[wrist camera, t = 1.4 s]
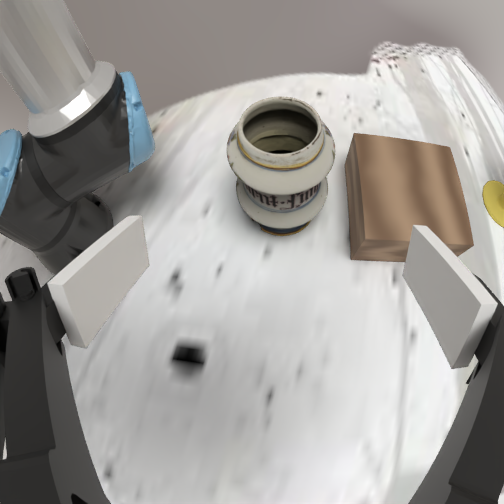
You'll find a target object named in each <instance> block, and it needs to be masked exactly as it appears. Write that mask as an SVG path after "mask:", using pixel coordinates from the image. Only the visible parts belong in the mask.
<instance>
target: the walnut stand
mask: <svg viewBox="0 0 504 504" xmlns="http://www.w3.org/2000/svg"><path fill="white" fill-rule="evenodd" d="M345 173H346V184H347V196H348V210H349V227H350V250H351V260H366V261H392V262H406V258H407V253H408V248H409V243H410V238H411V233H412V228H413V225H422V226H427V227H428V228H429V229H430V230H431V231H432V232H433V233H434V234H435V235H436V236H437V237H438V238H439V239H440V240H441V241H442V242H443V243H444V244H445V245H446V246H447V247H448V248H449V249H450V250H451V251H452V252H453V253H454V254H455V255H456V256H457V257H458V256H459V255H461V254H462V253H464V252H465V251H466V250H468V249H469V248H471V247H472V246H474V244H473V238H472V232H471V227H470V222H469V217H468V212H467V207H466V203H465V199H464V195H463V191H462V187H461V183H460V179H459V176H458V172H457V168H456V165H455V162H454V158H453V155H452V152H451V149H450V147H447V146H441V145H436V144H431V143H425V142H419V141H413V140H406V139H399V138H392V137H385V136H377V135H368V134H358V133H354V134H353V138H352V141H351V145H350V148H349V152H348V155H347V159H346V162H345Z"/></svg>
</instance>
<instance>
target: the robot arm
mask: <svg viewBox="0 0 504 504" xmlns="http://www.w3.org/2000/svg"><path fill="white" fill-rule="evenodd" d="M0 72H1V74H2V75H3V76H4V78H5V79H6V80H7V82H8V83H9V84H10V86H11V87H12V88H13V90H14V91H15V92H16V94H17V95H18V96H19V98H20V99H21V100H22V101H23V103H24V104H25V105H26V106H27V108H28V109H29V110H30V113H29V119H28V130H29V132H28V133H27V134H25V135H24V136H22V134H21V133H20V131H16V130H14V129H10V130H6V131H4V132H3V133H1V134H0V233H1V234H3V235H4V236H6V237H8V238H10V239H12V240H14V241H15V242H17V243H19V244H21V245H23V246H25V247H27V248H28V249H30V250H32V251H33V252H34V253H35V254H36V256H37V257H38V258H39V260H40V261H41V262H42V263H43V265H44V266H45V267H46V268H47V269H48V270H49V271H50V272H51V273H53V274H55V276H54V277H53V278H51V279H50V280H49V281H48V282H47V283H46V284H45V285H44V286H43V287H42V288H40V285H39V282H38V279H37V276H36V273H35V270H34V268H32V267H26V268H21V269H18V270H16V271H14V272H12V273H11V274H10V275H9V276H7V278H6V279H5V283H6V285H7V288H8V291H9V293H10V296H11V298H12V301H9V302H4V300H3V298H2V295H1V293H0V504H111V503H110V501H109V500H108V499H107V497H106V495H105V494H104V491H103V489H102V487H101V484H100V482H99V479H98V476H97V474H96V471H95V468H94V465H93V462H92V460H91V457H90V454H89V450H88V447H87V444H86V441H85V438H84V434H83V431H82V427H81V424H80V420H79V416H78V412H77V408H76V404H75V400H74V395H73V391H72V386H71V381H70V376H69V371H68V366H67V360H66V354H65V347H64V345H63V342H62V340H61V338H62V337H63V336H64V335H65V333H66V334H67V336H68V339H69V341H70V343H71V345H73V346H77V347H81V348H87V347H88V346H89V344H90V343H91V341H92V340H93V339H94V337H95V336H96V334H97V333H98V332H99V330H100V329H101V328H102V326H103V325H104V324H105V322H106V321H107V319H108V318H109V317H110V315H111V314H112V313H113V311H114V310H115V309H116V307H117V306H118V305H119V304H120V302H121V301H122V300H123V298H124V297H125V296H126V294H127V293H128V292H129V291H130V289H131V288H132V287H133V285H134V284H135V283H136V282H137V280H138V279H139V278H140V277H141V275H142V274H143V273H144V271H145V270H146V269H147V268H148V267H149V265H150V264H149V259H148V253H147V247H146V240H145V234H144V227H143V220H142V216H128V217H126V218H125V219H124V220H122V221H121V222H120V223H118V224H117V225H116V226H115V227H113V219H112V215H111V212H110V210H109V208H108V206H107V205H106V204H105V203H104V202H103V201H102V200H101V199H100V198H99V197H97V196H96V195H94V194H92V193H91V192H93V191H94V190H96V189H98V188H100V187H101V186H103V185H105V184H107V183H109V182H110V181H112V180H114V179H116V178H118V177H120V176H121V175H123V174H125V173H127V172H128V173H129V172H130V171H132V169H133V168H134V167H136V166H138V165H139V164H141V163H143V162H144V161H146V160H148V159H149V158H150V157H151V156H152V154H153V153H154V150H155V143H154V138H153V135H152V131H151V128H150V125H149V122H148V119H147V116H146V113H145V110H144V107H143V105H142V101H141V98H140V94H139V91H138V88H137V85H136V82H135V79H134V77H133V74H132V73H131V72H122V73H119V75H118V73H117V72H116V70H115V68H114V66H113V65H112V64H111V63H108V62H103V61H95V60H94V58H93V56H92V54H91V53H90V51H89V49H88V47H87V45H86V43H85V41H84V39H83V37H82V36H81V34H80V32H79V30H78V28H77V26H76V24H75V22H74V20H73V18H72V16H71V14H70V12H69V10H68V8H67V6H66V4H65V2H64V0H0ZM402 276H403V277H404V279H405V281H406V282H407V284H408V286H409V288H410V289H411V291H412V293H413V295H414V296H415V298H416V300H417V302H418V304H419V305H420V307H421V309H422V311H423V313H424V315H425V316H426V318H427V320H428V322H429V324H430V326H431V328H432V330H433V332H434V334H435V336H436V338H437V340H438V342H439V344H440V346H441V348H442V350H443V352H444V354H445V356H446V358H447V360H448V362H449V364H450V367H451V369H455V368H462V367H468V365H469V363H470V362H471V360H472V358H473V356H474V354H475V355H476V357H477V359H478V363H477V365H476V367H475V368H474V370H473V372H472V374H471V375H470V377H469V379H468V380H467V382H466V384H469V385H468V388H467V391H466V393H465V396H464V398H463V401H462V403H461V406H460V408H459V411H458V413H457V415H456V418H455V420H454V422H453V424H452V427H451V429H450V431H449V433H448V435H447V437H446V439H445V441H444V443H443V445H442V447H441V449H440V451H439V453H438V455H437V457H436V459H435V461H434V462H433V464H432V466H431V468H430V470H429V471H428V473H427V475H426V476H425V478H424V480H423V481H422V483H421V485H420V486H419V488H418V490H417V491H416V493H415V494H414V496H413V497H412V499H411V500H410V502H409V503H408V504H498V499H499V495H500V493H501V490H502V487H503V485H504V306H503V305H502V303H501V302H500V301H499V300H498V298H497V297H496V296H495V295H494V294H493V293H492V291H491V290H490V289H489V288H488V287H487V285H486V284H485V283H484V282H483V281H482V280H481V279H480V278H479V277H477V276H476V275H474V274H473V273H471V272H470V270H469V269H468V268H467V267H466V266H465V265H464V264H463V263H462V262H461V261H460V259H459V258H458V257H457V256H456V255H455V254H454V253H453V252H452V251H451V250H450V249H449V248H448V247H447V246H446V245H445V244H444V243H443V242H442V241H441V240H440V239H439V238H438V237H437V236H436V235H435V234H434V233H433V232H432V231H431V230H430V229H429V228H428V227H427V226H422V225H413V228H412V233H411V238H410V243H409V248H408V253H407V258H406V262H405V267H404V271H403V275H402ZM469 382H470V383H469ZM5 437H6V449H7V458H6V459H4V460H2V459H3V450H4V442H5Z"/></svg>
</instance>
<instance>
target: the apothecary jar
mask: <svg viewBox="0 0 504 504" xmlns="http://www.w3.org/2000/svg"><path fill="white" fill-rule="evenodd" d="M227 157H228V161H229V164H230V166H231V168H232V170H233V172H234V173H235V175H236V176H237V183H236V191H237V197H238V200H239V203H240V205H241V207H242V208H243V210H244V211H245V212H246V213H247V214H248V215H249V216H250V217H251V219H252V220H253V221H255V222H257V223H259V224H260V226H261V230H263V231H265V232H267V233H269V234H272V235H277V236H286V235H292V234H295V233H297V232H299V231H301V230H302V229H304V228H305V227H306V226H307V225H308V224H309V223H310V221H311V219H313V218H314V217H315V216H316V215H317V214H318V213H319V212H320V210H321V209H322V207H323V206H324V203H325V201H326V198H327V194H328V183H327V178H326V176H327V174H328V173H329V171H330V170H331V168H332V166H333V163H334V159H335V144H334V140H333V137H332V135H331V133H330V131H329V129H328V128H327V126H326V125H325V124H324V123H323V122H322V121H321V119H320V117H319V115H318V113H317V112H316V111H315V110H314V109H313V108H312V107H311V106H310V105H308V104H307V103H305V102H303V101H301V100H298V99H295V98H291V97H271V98H267V99H263V100H260V101H258V102H256V103H254V104H252V105H251V106H250V107H249V108H247V109H246V111H245V112H244V113H243V114H242V116H241V118H240V121H239V122H238V123H237V124H236V126H235V127H234V129H233V130H232V132H231V134H230V136H229V139H228V143H227Z"/></svg>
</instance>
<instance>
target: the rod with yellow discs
mask: <svg viewBox="0 0 504 504" xmlns="http://www.w3.org/2000/svg"><path fill="white" fill-rule="evenodd" d="M482 195H483V200H484V204H485V207H486V209H487V211H488V213H489V214H490V216H491V217H492V218H493V220H494V221H495V222H496V223H497V224H499V225H500V226H501V227H504V185H503V184H502V183H501V182H498V181H495V180H493V181H488V182H487V183H486V184H485V186H484V187H483V194H482Z"/></svg>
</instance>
